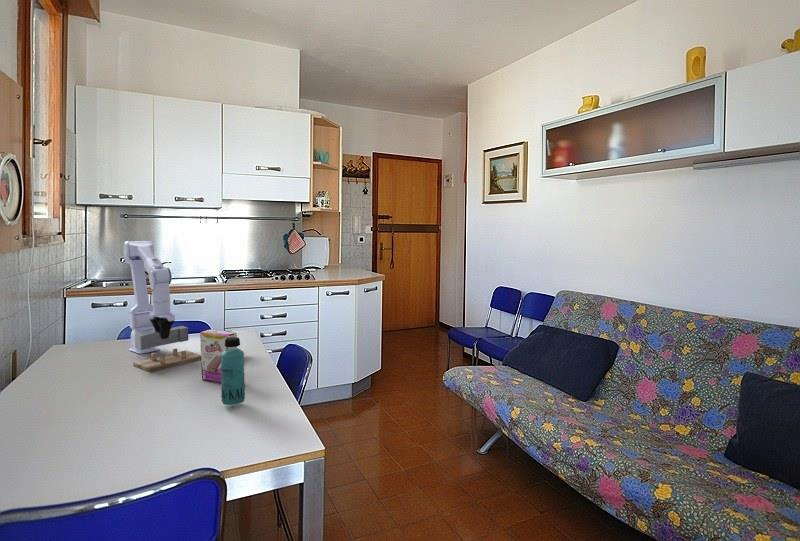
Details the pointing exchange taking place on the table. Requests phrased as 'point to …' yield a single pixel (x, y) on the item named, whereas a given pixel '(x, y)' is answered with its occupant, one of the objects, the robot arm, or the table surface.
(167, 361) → the peg rack
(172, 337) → the gray notched long block
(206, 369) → the candy bar box
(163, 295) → the robot arm
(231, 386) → the beverage bottle
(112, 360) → the table surface
